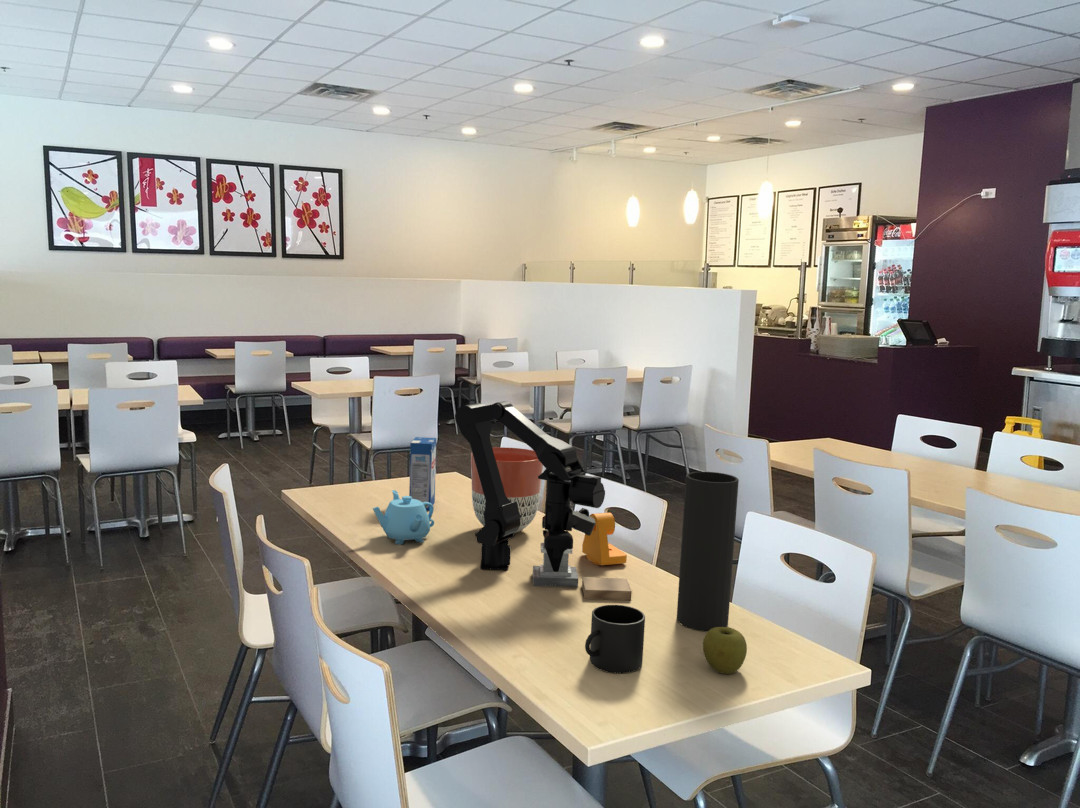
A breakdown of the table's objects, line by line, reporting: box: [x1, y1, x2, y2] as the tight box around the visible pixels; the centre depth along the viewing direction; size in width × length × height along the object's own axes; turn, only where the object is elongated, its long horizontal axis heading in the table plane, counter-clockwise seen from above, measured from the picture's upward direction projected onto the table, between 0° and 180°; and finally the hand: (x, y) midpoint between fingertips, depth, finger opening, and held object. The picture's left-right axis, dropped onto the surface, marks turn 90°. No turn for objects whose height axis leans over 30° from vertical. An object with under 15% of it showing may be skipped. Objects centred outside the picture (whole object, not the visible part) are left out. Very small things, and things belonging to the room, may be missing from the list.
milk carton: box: [408, 436, 437, 512], centre depth 252 cm, size 10×6×20 cm, turn 179°
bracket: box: [581, 512, 628, 566], centre depth 208 cm, size 11×7×12 cm, turn 22°
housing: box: [539, 542, 573, 576], centre depth 192 cm, size 7×5×6 cm
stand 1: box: [532, 565, 579, 588], centre depth 193 cm, size 10×8×2 cm
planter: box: [470, 446, 544, 534], centre depth 229 cm, size 20×20×21 cm
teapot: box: [372, 489, 435, 546], centre depth 219 cm, size 15×14×11 cm
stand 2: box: [581, 576, 633, 601], centre depth 186 cm, size 10×8×2 cm
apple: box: [702, 626, 748, 675], centre depth 150 cm, size 8×8×7 cm
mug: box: [584, 604, 646, 674], centre depth 150 cm, size 9×12×9 cm
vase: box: [676, 471, 740, 632], centre depth 170 cm, size 10×10×30 cm
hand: (555, 567), depth 192 cm, fingers closed on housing, 5 cm apart
